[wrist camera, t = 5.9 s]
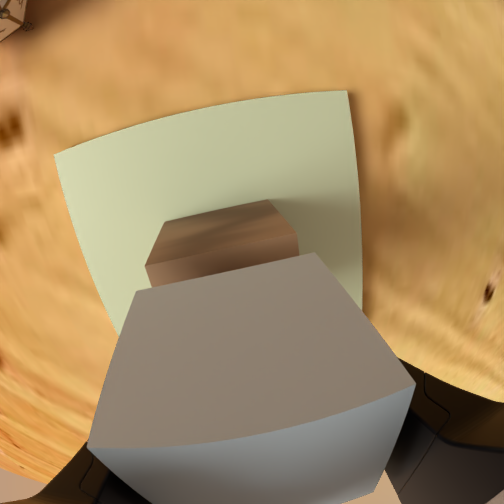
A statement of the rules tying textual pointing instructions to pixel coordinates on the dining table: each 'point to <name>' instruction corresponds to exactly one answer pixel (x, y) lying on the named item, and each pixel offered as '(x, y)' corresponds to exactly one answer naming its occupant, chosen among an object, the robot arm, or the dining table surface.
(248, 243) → the walnut block
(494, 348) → the dining table surface
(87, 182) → the base board
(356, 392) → the grey block
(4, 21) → the game die
